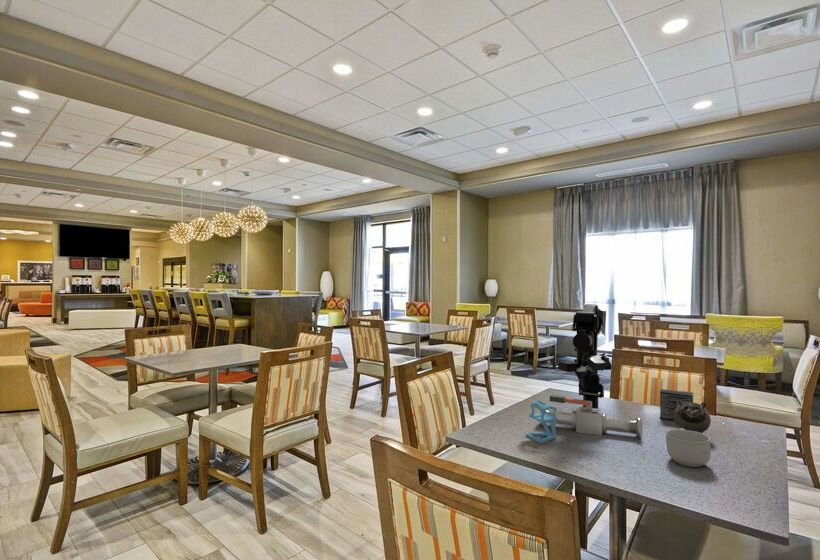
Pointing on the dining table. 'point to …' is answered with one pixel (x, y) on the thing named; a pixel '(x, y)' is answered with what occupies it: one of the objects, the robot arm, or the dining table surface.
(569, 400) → the valve lever
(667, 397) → the small box
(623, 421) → the valve manifold
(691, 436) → the teacup
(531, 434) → the chair
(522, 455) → the dining table surface
